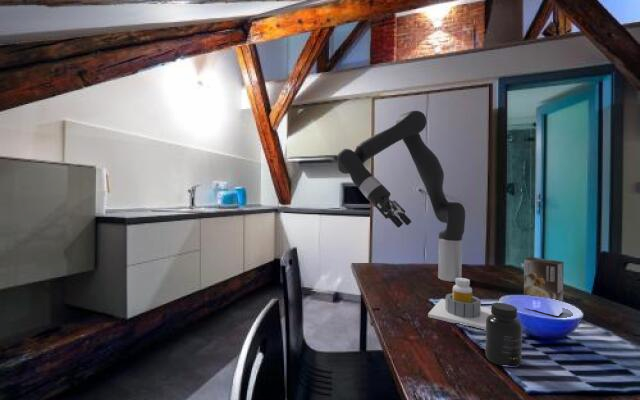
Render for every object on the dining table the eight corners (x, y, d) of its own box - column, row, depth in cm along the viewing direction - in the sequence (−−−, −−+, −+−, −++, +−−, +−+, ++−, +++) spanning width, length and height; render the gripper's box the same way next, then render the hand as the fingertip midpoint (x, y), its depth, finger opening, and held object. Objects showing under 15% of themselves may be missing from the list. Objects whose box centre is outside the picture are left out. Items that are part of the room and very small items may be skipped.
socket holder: (441, 301, 102) (441, 286, 102) (495, 312, 93) (495, 296, 93) (427, 316, 89) (428, 300, 89) (489, 331, 80) (489, 313, 80)
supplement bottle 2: (478, 352, 69) (479, 300, 69) (506, 351, 70) (507, 300, 70) (498, 369, 62) (499, 312, 62) (529, 368, 63) (530, 311, 63)
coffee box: (564, 313, 93) (565, 261, 93) (557, 318, 89) (559, 264, 89) (529, 304, 100) (530, 256, 100) (522, 308, 97) (523, 258, 96)
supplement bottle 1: (474, 315, 88) (474, 282, 88) (454, 313, 89) (455, 281, 89) (469, 308, 93) (469, 277, 93) (450, 307, 94) (451, 276, 94)
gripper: (372, 183, 102) (406, 218, 96) (389, 184, 113) (419, 215, 107) (358, 199, 105) (390, 234, 99) (376, 198, 117) (404, 229, 110)
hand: (405, 224), depth 103 cm, fingers open, 8 cm apart
